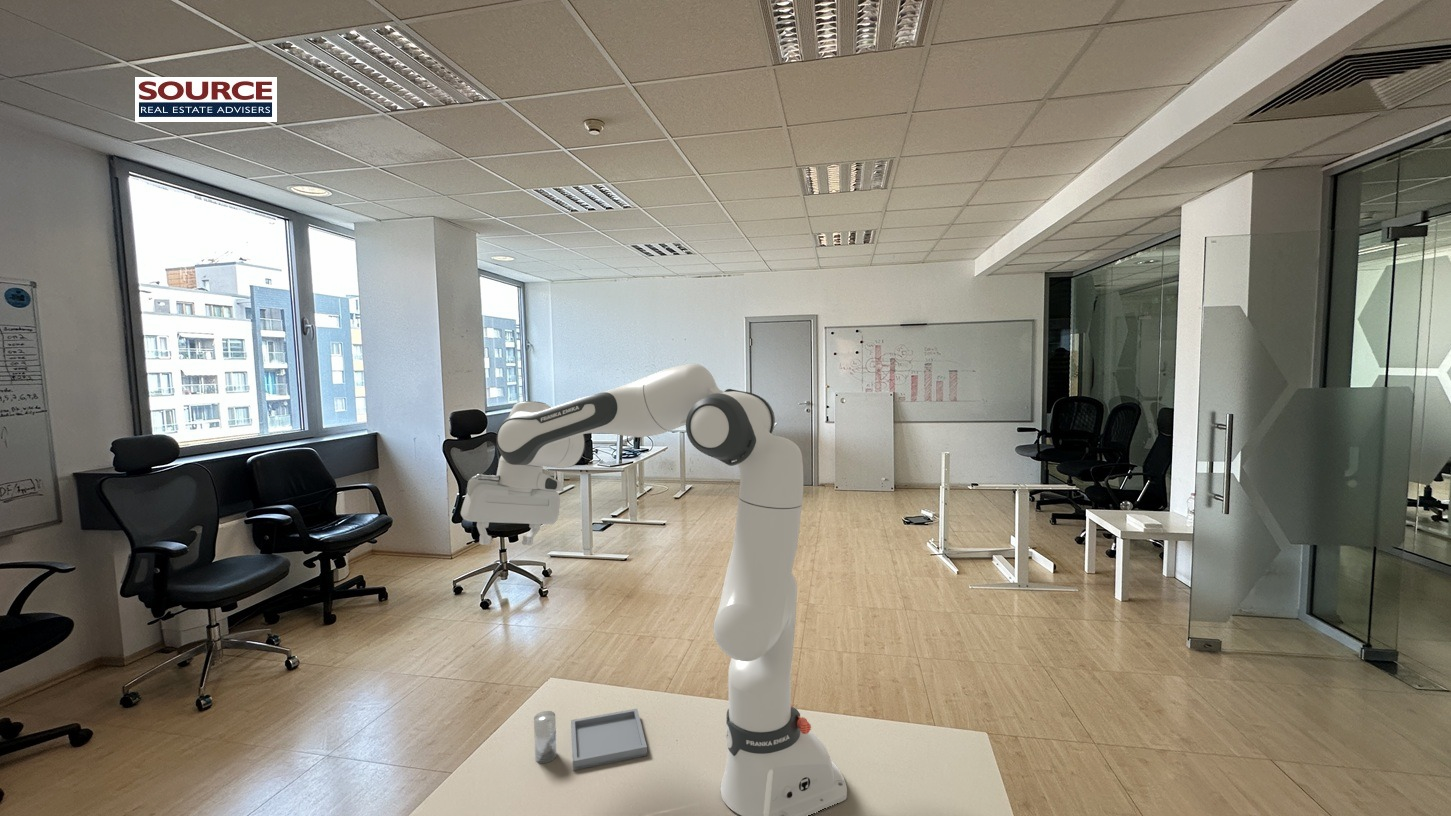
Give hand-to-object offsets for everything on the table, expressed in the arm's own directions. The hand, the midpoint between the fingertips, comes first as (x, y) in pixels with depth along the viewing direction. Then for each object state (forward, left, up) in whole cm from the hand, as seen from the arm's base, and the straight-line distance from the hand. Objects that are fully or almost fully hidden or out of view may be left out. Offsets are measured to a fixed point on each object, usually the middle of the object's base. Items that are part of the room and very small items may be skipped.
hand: (506, 544), depth 118 cm
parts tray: (-19, +10, -40) cm, 45 cm away
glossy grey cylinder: (-7, +11, -40) cm, 42 cm away
